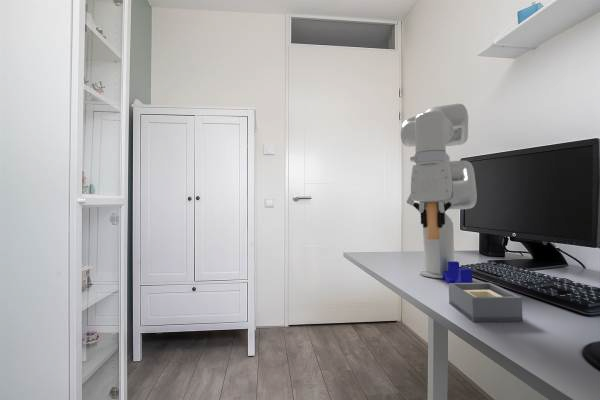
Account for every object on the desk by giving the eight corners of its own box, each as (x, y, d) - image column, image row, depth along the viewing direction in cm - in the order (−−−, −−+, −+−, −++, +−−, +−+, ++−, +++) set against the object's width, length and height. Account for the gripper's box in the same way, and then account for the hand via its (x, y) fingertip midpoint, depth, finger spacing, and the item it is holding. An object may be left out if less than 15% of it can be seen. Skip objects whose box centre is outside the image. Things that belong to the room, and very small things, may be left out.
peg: (428, 237, 87) (427, 201, 87) (440, 238, 86) (439, 201, 85) (425, 239, 85) (424, 202, 85) (438, 239, 83) (437, 201, 83)
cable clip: (443, 280, 101) (442, 261, 101) (458, 280, 100) (457, 261, 100) (455, 290, 89) (454, 269, 89) (472, 291, 88) (471, 269, 88)
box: (449, 303, 78) (448, 283, 78) (490, 302, 78) (490, 282, 78) (473, 322, 66) (472, 298, 66) (522, 321, 66) (521, 297, 66)
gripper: (396, 161, 86) (398, 228, 86) (463, 154, 77) (465, 229, 77) (403, 163, 93) (405, 225, 93) (466, 157, 84) (468, 226, 84)
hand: (433, 226), depth 85 cm, fingers closed on peg, 3 cm apart
